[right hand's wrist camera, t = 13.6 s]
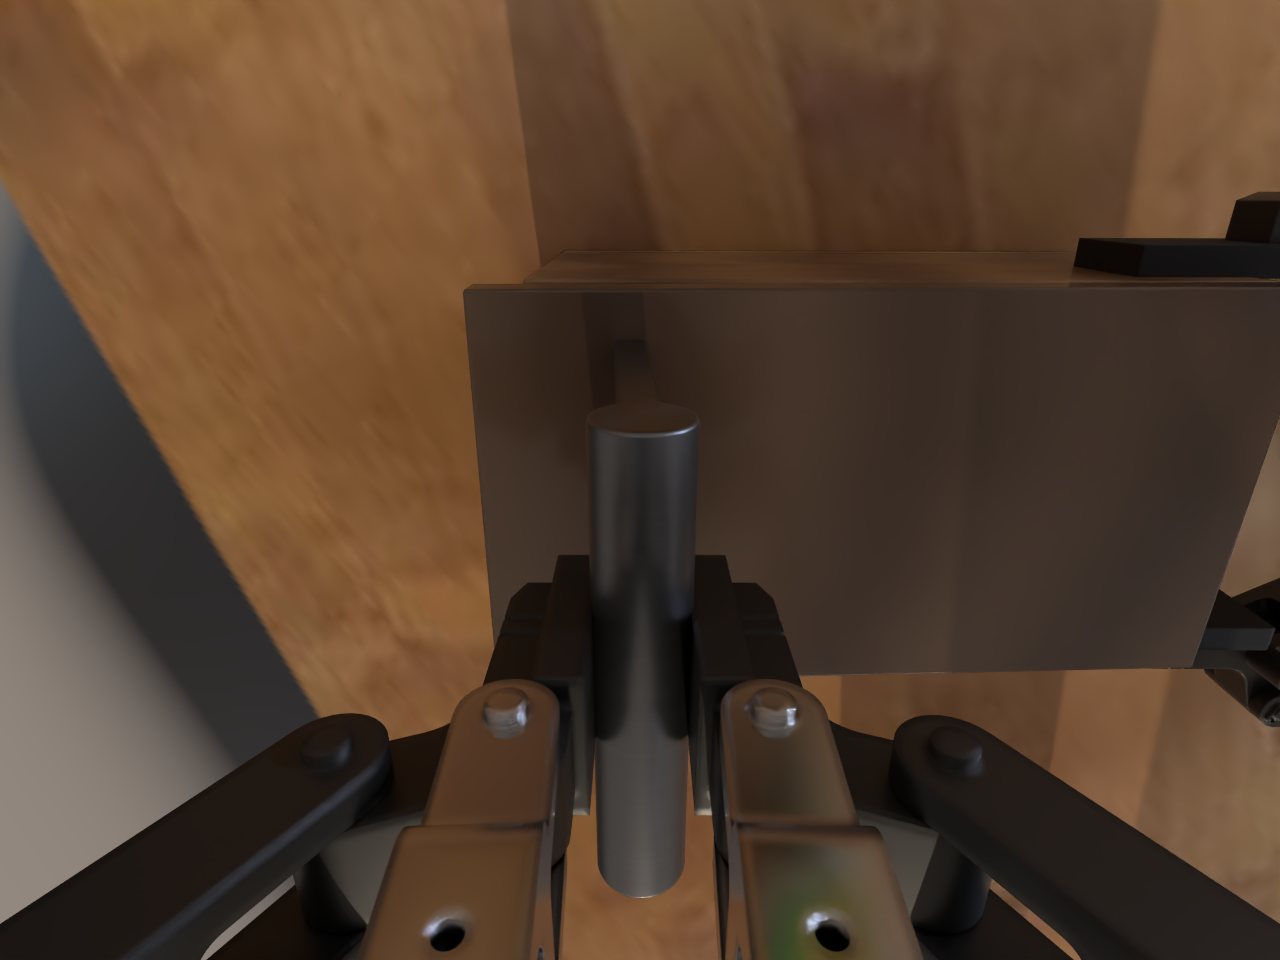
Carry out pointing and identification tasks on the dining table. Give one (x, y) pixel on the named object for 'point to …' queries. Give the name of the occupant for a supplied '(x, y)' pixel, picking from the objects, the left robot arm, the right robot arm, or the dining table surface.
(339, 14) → the dining table surface
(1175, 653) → the lid
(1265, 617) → the left robot arm
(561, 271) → the chest
